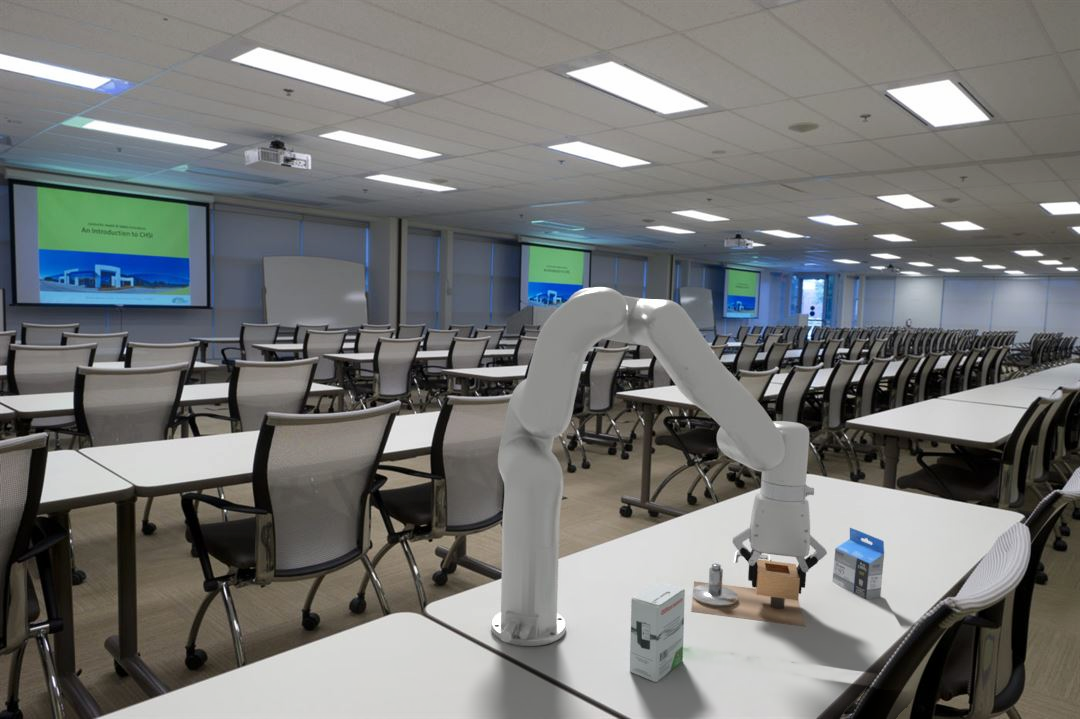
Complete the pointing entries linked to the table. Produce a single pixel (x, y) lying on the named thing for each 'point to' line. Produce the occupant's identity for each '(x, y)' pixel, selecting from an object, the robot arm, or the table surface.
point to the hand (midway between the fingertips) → (775, 586)
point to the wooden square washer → (777, 579)
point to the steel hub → (715, 591)
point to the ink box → (657, 630)
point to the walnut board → (755, 607)
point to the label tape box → (859, 565)
